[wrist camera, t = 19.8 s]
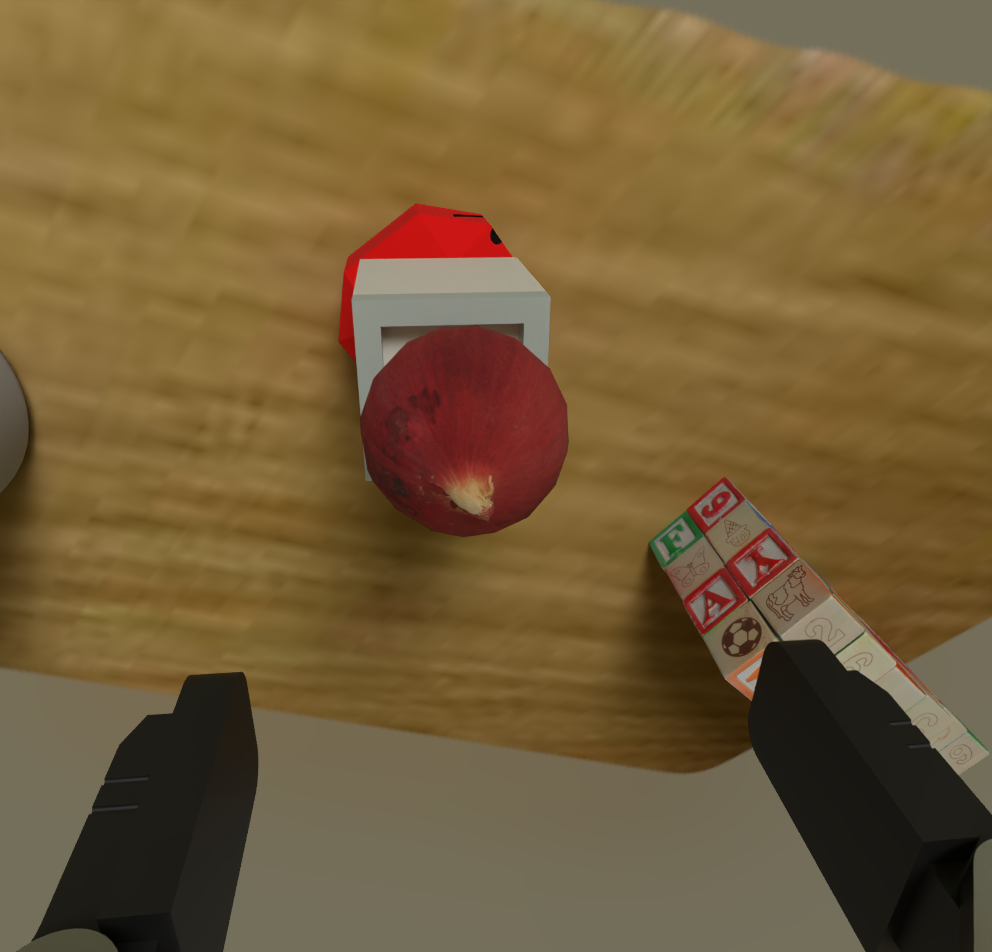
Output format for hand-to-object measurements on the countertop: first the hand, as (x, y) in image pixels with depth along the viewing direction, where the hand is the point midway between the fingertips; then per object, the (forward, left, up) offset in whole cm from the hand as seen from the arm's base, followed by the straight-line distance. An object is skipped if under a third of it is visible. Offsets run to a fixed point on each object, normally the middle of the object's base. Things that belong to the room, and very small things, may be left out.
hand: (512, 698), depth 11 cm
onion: (-1, 0, -15) cm, 15 cm away
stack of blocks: (-23, +20, -28) cm, 42 cm away
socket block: (0, 0, -20) cm, 20 cm away
